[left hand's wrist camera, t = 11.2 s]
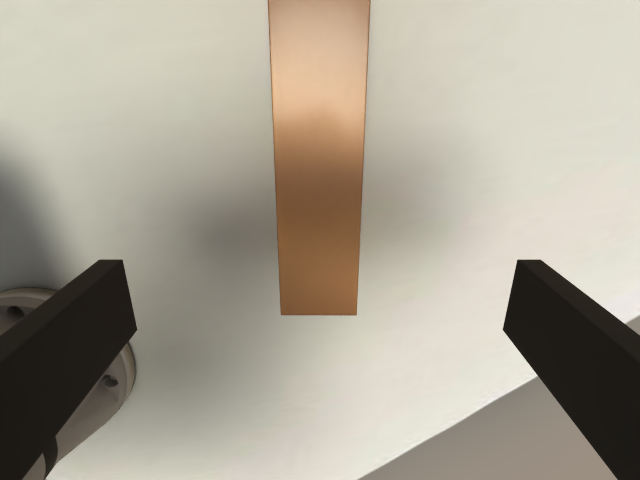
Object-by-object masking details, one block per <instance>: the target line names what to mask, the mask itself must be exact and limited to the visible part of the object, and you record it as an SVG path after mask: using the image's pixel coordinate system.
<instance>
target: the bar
mask: <svg viewBox="0 0 640 480" xmlns="http://www.w3.org/2000/svg"><path fill="white" fill-rule="evenodd" d="M268 14H269V39H270V63H271V88H272V112H273V136H274V161H275V185H276V210H277V234H278V259H279V283H280V307H281V315H357V294H358V271H359V248H360V226H361V203H362V180H363V157H364V135H365V112H366V89H367V66H368V44H369V21H370V0H268Z"/></svg>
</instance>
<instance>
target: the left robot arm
mask: <svg viewBox="0 0 640 480" xmlns="http://www.w3.org/2000/svg"><path fill="white" fill-rule="evenodd" d="M136 331H137V327H136V322H135V317H134V312H133V307H132V303H131V298H130V293H129V288H128V284H127V279H126V274H125V269H124V264H123V260H98V261H97V262H96V263H95V264H93V265H92V266H91V267H89V268H88V269H87V270H85V271H84V272H83V273H81V274H80V275H79V276H78V277H76V278H75V279H74V280H72V281H71V282H70V283H68V284H67V285H66V286H64V287H63V288H62V289H60V290H59V291H54V290H49V289H43V288H17V289H11V290H7V291H3V292H0V480H45V478H46V477H47V476H48V474H49V473H50V471H51V470H52V469H53V467H54V466H55V465H56V463H57V462H58V461H59V460H61V459H62V458H63V457H64V456H66V455H67V454H68V453H69V452H71V451H72V450H73V449H74V448H76V447H77V446H78V445H79V444H80V443H82V442H83V441H84V440H85V439H87V438H88V437H89V436H90V435H92V434H93V433H94V432H95V431H96V430H98V429H99V428H100V427H101V426H103V425H104V424H105V423H106V422H107V421H108V420H110V418H111V417H112V416H113V415H114V414H115V413H116V412H117V411H118V410H119V408H120V407H121V405H122V404H123V402H124V401H125V399H126V397H127V396H128V394H129V393H130V390H131V388H132V385H133V382H134V376H135V366H134V360H133V356H132V353H131V350H130V348H129V345H128V343H127V342H128V341H129V340H130V338H131V337H132V336H133V335H134V333H135V332H136ZM503 331H504V332H505V333H506V335H507V336H508V337H509V338H510V340H511V341H512V342H513V344H514V345H515V346H516V348H517V349H518V350H519V351H520V353H521V354H522V355H523V357H524V358H525V359H526V361H527V362H528V363H529V365H530V366H531V367H532V368H533V370H534V371H535V372H536V374H537V375H538V376H539V378H540V379H541V380H542V381H543V383H544V384H545V385H546V387H547V388H548V389H549V391H550V392H551V393H552V395H553V396H554V397H555V398H556V400H557V401H558V402H559V404H560V405H561V406H562V408H563V409H564V410H565V411H566V413H567V414H568V415H569V417H570V418H571V419H572V421H573V422H574V423H575V425H576V426H577V427H578V428H579V430H580V431H581V432H582V434H583V435H584V436H585V438H586V439H587V440H588V441H589V443H590V444H591V445H592V447H593V448H594V449H595V451H596V452H597V453H598V455H599V456H600V457H601V458H602V460H603V461H604V462H605V464H606V465H607V466H608V468H609V469H610V470H611V471H612V473H613V474H614V475H615V477H616V478H617V479H618V480H640V335H638V334H637V333H636V332H635V331H633V330H632V329H631V328H629V327H628V326H627V325H625V324H624V323H623V322H621V321H620V320H619V319H618V318H616V317H615V316H614V315H612V314H611V313H610V312H608V311H607V310H606V309H604V308H603V307H602V306H600V305H599V304H598V303H597V302H595V301H594V300H593V299H591V298H590V297H589V296H587V295H586V294H585V293H583V292H582V291H581V290H580V289H578V288H577V287H576V286H574V285H573V284H572V283H570V282H569V281H568V280H566V279H565V278H564V277H562V276H561V275H560V274H559V273H557V272H556V271H555V270H553V269H552V268H551V267H549V266H548V265H547V264H545V263H544V262H543V261H542V260H517V264H516V269H515V274H514V279H513V284H512V288H511V293H510V298H509V303H508V307H507V312H506V317H505V322H504V327H503Z"/></svg>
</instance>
